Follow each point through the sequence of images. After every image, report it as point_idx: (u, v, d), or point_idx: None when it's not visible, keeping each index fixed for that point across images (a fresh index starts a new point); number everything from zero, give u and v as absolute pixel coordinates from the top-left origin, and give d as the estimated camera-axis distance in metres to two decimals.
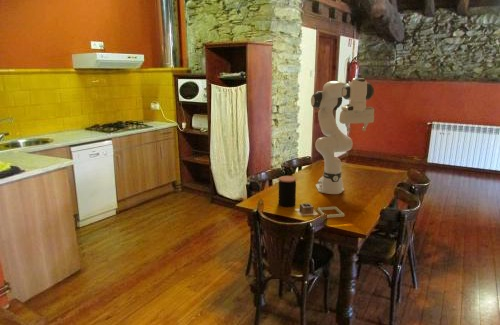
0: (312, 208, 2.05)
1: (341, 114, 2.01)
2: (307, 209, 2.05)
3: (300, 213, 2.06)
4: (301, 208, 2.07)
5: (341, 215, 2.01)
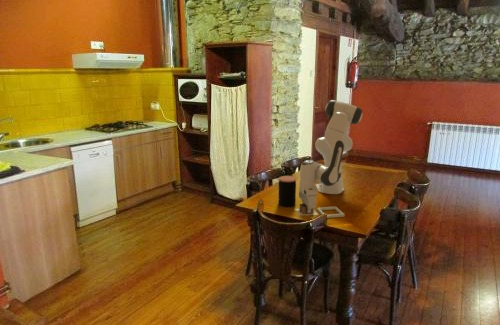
0: (312, 208, 2.05)
1: (312, 200, 1.97)
2: None
3: (300, 213, 2.06)
4: (301, 208, 2.07)
5: (341, 215, 2.01)
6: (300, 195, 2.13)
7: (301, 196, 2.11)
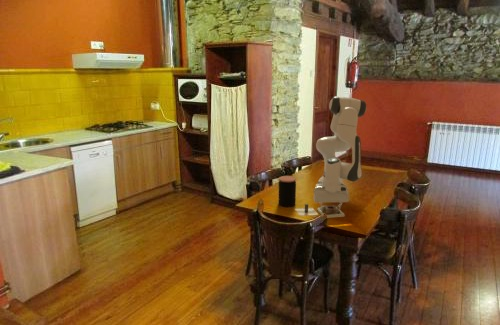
0: None
1: None
2: None
3: (300, 213, 2.06)
4: (332, 212, 2.03)
5: (341, 215, 2.01)
6: (320, 199, 2.02)
7: (323, 199, 2.02)
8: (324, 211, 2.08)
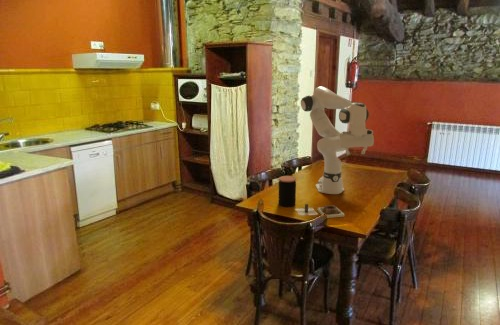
0: None
1: None
2: None
3: (300, 213, 2.06)
4: (332, 212, 2.03)
5: (341, 215, 2.01)
6: (347, 143, 2.03)
7: (350, 143, 2.03)
8: (324, 211, 2.08)
